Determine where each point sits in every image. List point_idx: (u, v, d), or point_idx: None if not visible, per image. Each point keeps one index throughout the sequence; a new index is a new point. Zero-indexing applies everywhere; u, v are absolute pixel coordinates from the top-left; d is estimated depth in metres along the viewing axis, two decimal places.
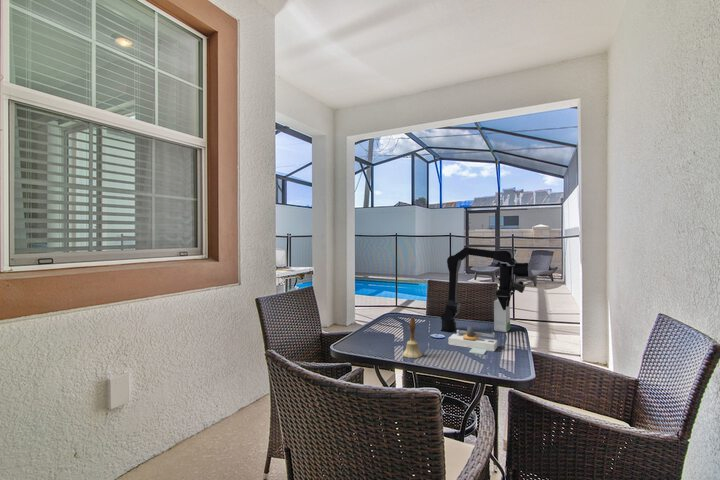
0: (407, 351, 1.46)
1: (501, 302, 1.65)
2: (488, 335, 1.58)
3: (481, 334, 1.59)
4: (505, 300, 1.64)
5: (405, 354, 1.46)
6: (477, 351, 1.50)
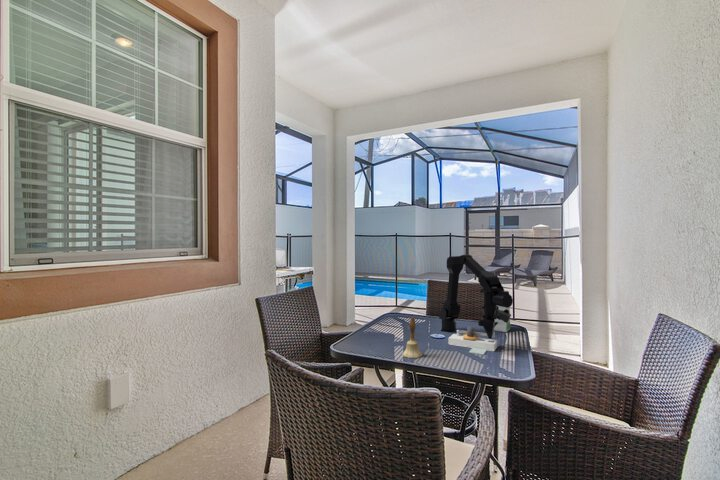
0: (407, 351, 1.46)
1: (487, 330, 1.56)
2: None
3: (481, 334, 1.60)
4: (491, 328, 1.55)
5: (405, 354, 1.46)
6: (477, 351, 1.50)
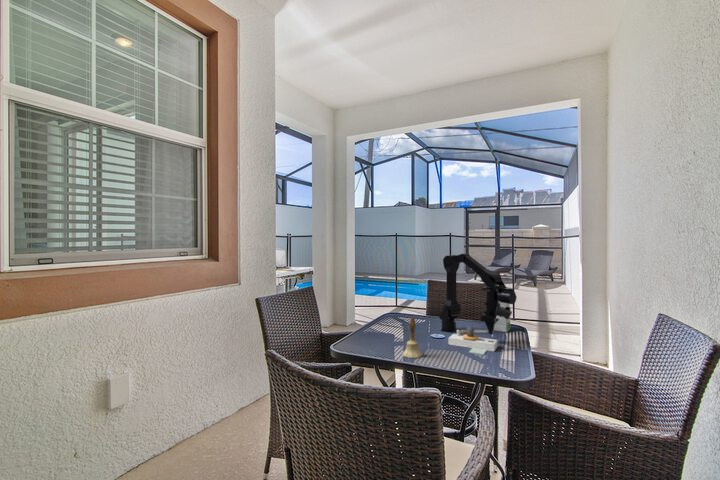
0: (407, 351, 1.46)
1: (488, 326, 1.63)
2: (488, 331, 1.64)
3: (481, 331, 1.64)
4: (492, 324, 1.62)
5: (405, 354, 1.46)
6: (477, 351, 1.50)
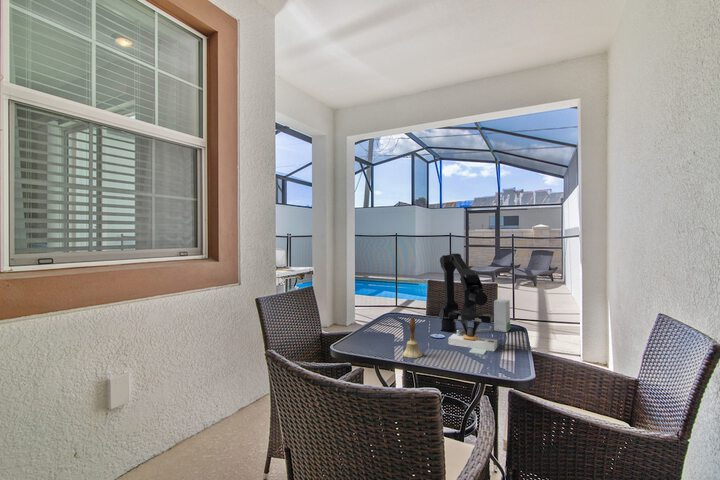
0: (407, 351, 1.46)
1: None
2: (486, 330, 1.66)
3: (480, 330, 1.66)
4: None
5: (405, 354, 1.46)
6: (477, 351, 1.50)
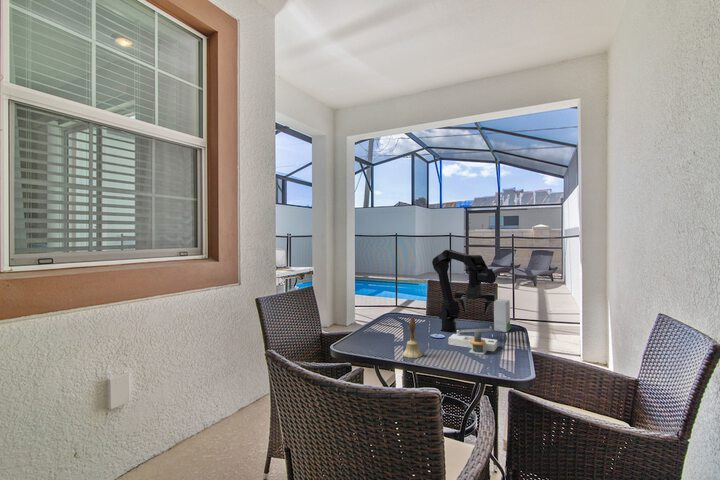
0: (407, 351, 1.46)
1: None
2: (486, 330, 1.66)
3: (480, 330, 1.66)
4: None
5: (405, 354, 1.46)
6: None
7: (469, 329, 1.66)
